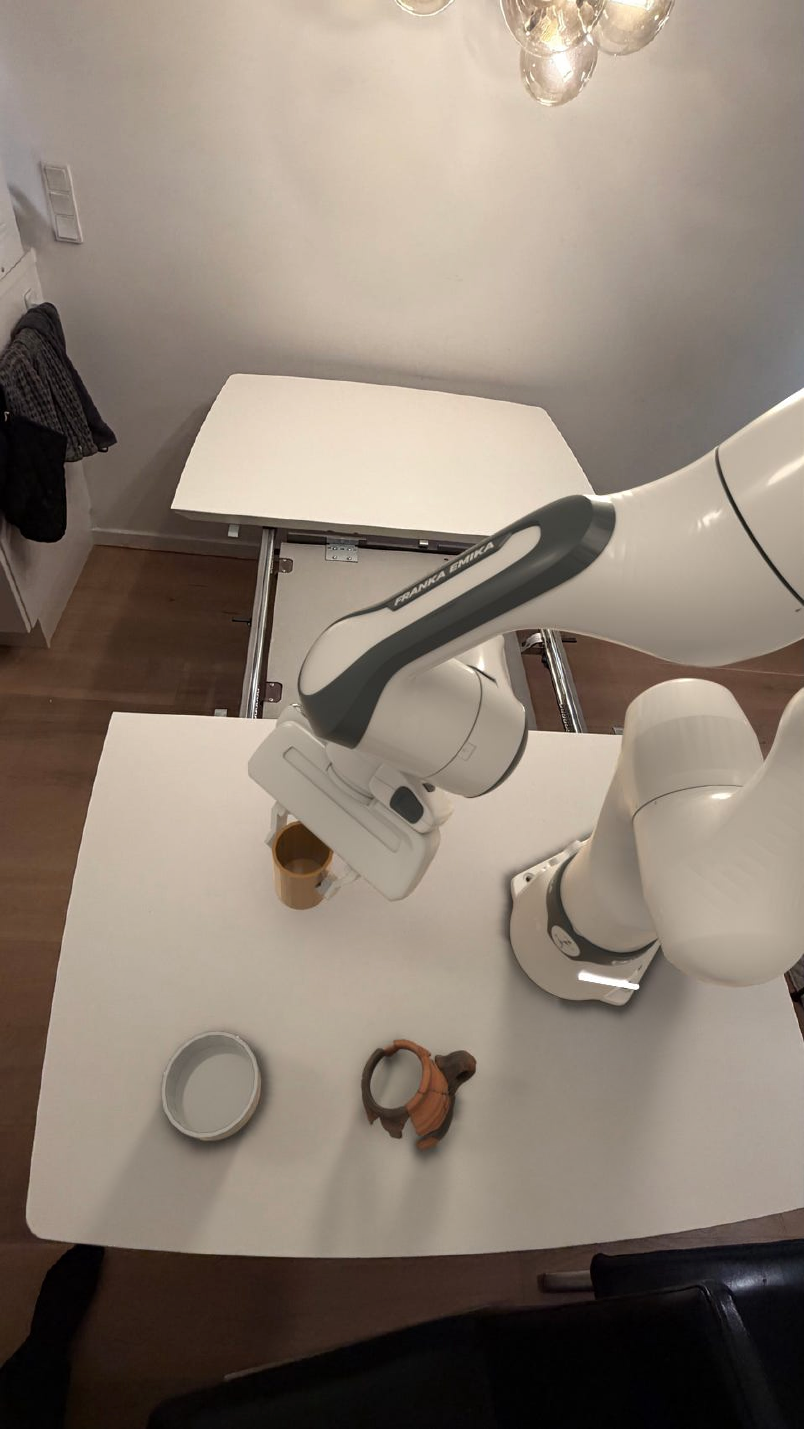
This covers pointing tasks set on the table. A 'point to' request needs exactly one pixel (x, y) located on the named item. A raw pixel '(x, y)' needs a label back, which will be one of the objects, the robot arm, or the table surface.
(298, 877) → the tan hollow cylinder
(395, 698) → the robot arm
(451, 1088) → the pottery mug
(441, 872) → the table surface
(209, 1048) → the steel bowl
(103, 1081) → the table surface
